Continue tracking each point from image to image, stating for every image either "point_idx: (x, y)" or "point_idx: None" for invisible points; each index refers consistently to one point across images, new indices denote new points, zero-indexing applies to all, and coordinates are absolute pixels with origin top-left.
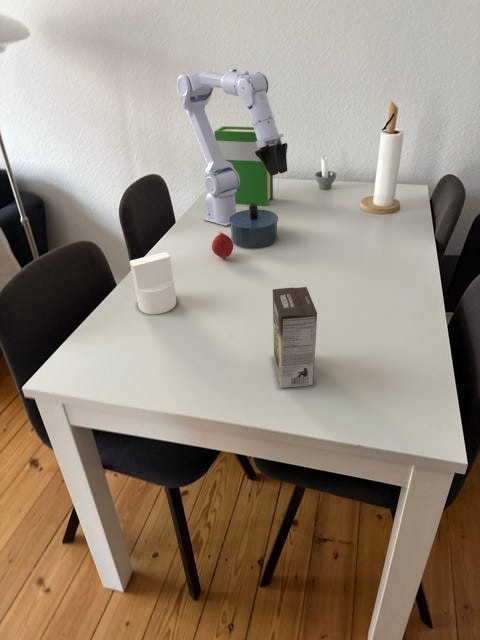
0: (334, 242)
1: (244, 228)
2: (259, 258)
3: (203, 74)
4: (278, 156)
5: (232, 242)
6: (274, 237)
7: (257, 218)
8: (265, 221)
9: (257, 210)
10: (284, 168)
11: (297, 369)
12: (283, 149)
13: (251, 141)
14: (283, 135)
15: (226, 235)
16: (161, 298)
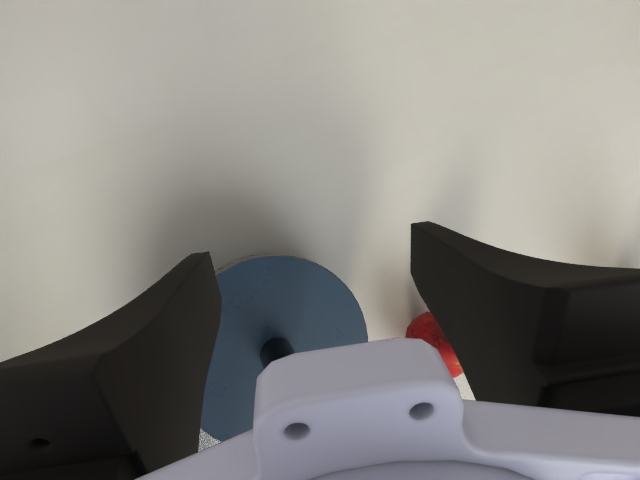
0: (170, 63)
1: (366, 332)
2: (376, 242)
3: None
4: (181, 376)
5: (428, 323)
6: (268, 254)
7: (275, 338)
8: (287, 294)
9: (277, 349)
10: (206, 275)
11: None
12: (141, 353)
13: None
14: (307, 361)
15: (449, 345)
16: None
